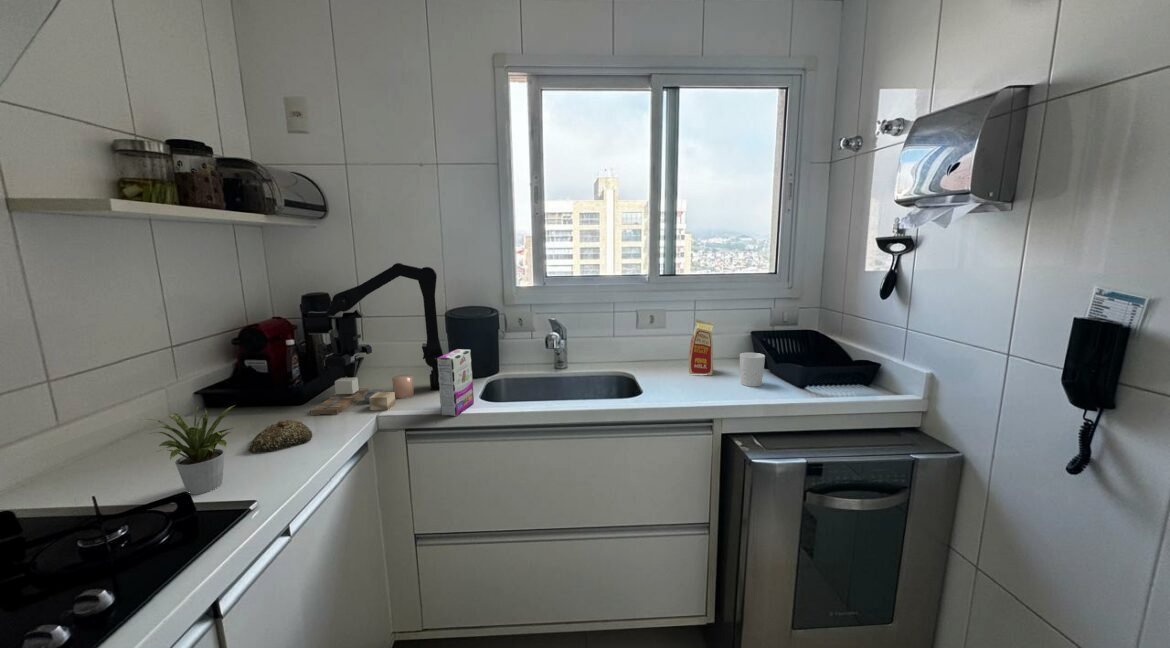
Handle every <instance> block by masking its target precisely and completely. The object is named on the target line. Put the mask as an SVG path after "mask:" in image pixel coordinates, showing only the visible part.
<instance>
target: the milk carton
mask: <svg viewBox="0 0 1170 648" xmlns="http://www.w3.org/2000/svg"><path fill="white" fill-rule="evenodd" d="M715 325H716V322H710V321H709V322H708V321H705V320H701V319H697V318H695V327H694V329H693V333H692V336H691V340H690V345H689V346H690V347H689V352H688V373H689V374H707V375H712V376H713V374H714V343H713V333H712V332H713V328H714V326H715ZM712 373H713V374H712ZM689 374H688V375H689Z"/></svg>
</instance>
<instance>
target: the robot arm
mask: <svg viewBox="0 0 1170 648" xmlns="http://www.w3.org/2000/svg"><path fill="white" fill-rule="evenodd" d="M399 277H404V278H408V279H410V280H416V281H417V282H418V285H419V288H420V291H421V294H422V299H423V309H424V320H425V330H426V331H425V333H426V343H422V344H421V349H422V352H423V355H422V360H424V361H425V364H426V365H427V366H428V367H431V368H432V369H431V370H430V374H429V383H430V385H429V386H430V389H429V390H430V391H439V378H438V364H437V358H439V357H441V356H443V355H445V354H444V350H443V346H442V343H441V340H440V337H439V327H438V316H437V303H436V289H437V288H436V287H437V271H436V270H435V269H434V268H433V267H430V266H424V267H422V268H420V267H416V266H412V265H407V264H404V263H401V262H396V263H394V264H393V265H392V266H390V267H389V268H386V269H385V270H384V271H382V272H380V273H378V274H377V275H375V276H373V277H371V278H370V279H368V280H365V281H364V282H363V283H361V284H359V285H357V286H354V287H351V288H348V289H346V290H343V291H341V292H338V293H335V294H334V295H333V297H332V298H331V306H330V307H329V308H328V309H327V310H326V311H308V312H307V314H306V315H307V318H306V323H305V329H306V333H307V334H308V335H327V334H331V332H332V331H335V330H336V336H334V337H333V339H332V340H333V342H330V343H325V342H322V343H321V342H320V343H319V344H316V349H315V350H316V354H318V355H320V356H321V358H324V357H325V358H324V359H323V366H324V367H341V368H342V370H343V371H344V373H345V375H346V378H352V377H357V376H358V372H359V370H360V367H361V366H362V363H363V361H364V359H365V357H363V356H360V355H359V354H364V353H365V354H366V355H370V354H372V353H373V351H372V350H373V348H372V346H371V345H369V343H368V344H359V339H361V336H362V335H361V333H359V332H358V322H357V321H358V320H357V319H360V318H363V316H364V314H363V313H362V312H361V311H359V310H358V309H355V310H354V311H352V312H351V311H350V310H351V309H354V307H355V306H356V305H358V304H359V303H360V302H361V301H362V300H363V299H365V298H366V297H367V296H368V295H369V294H371V293H373V292H375V291H377V290H378V289H380V288H382V287H383V286H385V285H386V284H389V283H390V282H392V281H393V280H395V279H396V278H399ZM348 311H350V312H348ZM340 312H343V313H342V315H337V314H339V313H340Z"/></svg>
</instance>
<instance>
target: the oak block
mask: <svg viewBox="0 0 1170 648" xmlns="http://www.w3.org/2000/svg"><path fill="white" fill-rule="evenodd" d="M369 400H370V404H369V409H370V410H388V409H389V410H390V408H391V407H392V408H393V407H395V406H396V405H395V404H397V403H396V398H395V392H393V391H383V392H377V393H376V394H374V395H373V396H371V397H369ZM394 405H395V406H394ZM392 408H391V409H392ZM389 410H388V411H389Z"/></svg>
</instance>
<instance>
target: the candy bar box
mask: <svg viewBox="0 0 1170 648" xmlns="http://www.w3.org/2000/svg"><path fill="white" fill-rule="evenodd" d="M437 364H438V378H439V390H438V391H439V401H440V414H441V415H440V416H445V417H446V416H447V417H457V416H459V415H460V414H461V412H462V411H463V410H464V411H466V410H467V409H468V408H470V407H471V406H472V405H473V404H474V403H475V398H474V397H475V396H474V384H473V383H474V381H473V369H472V368H473V367H472V365H473V364H472V351H471V349H466V348H465V349H464V348H462V349H461V348H460V349H459V348H457V349H455V350H451V351H450V352H448V353H446V354H444V355H443V356H441V357H439V358H437ZM465 409H466V410H465ZM464 411H463V412H464ZM463 412H462V413H463Z"/></svg>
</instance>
